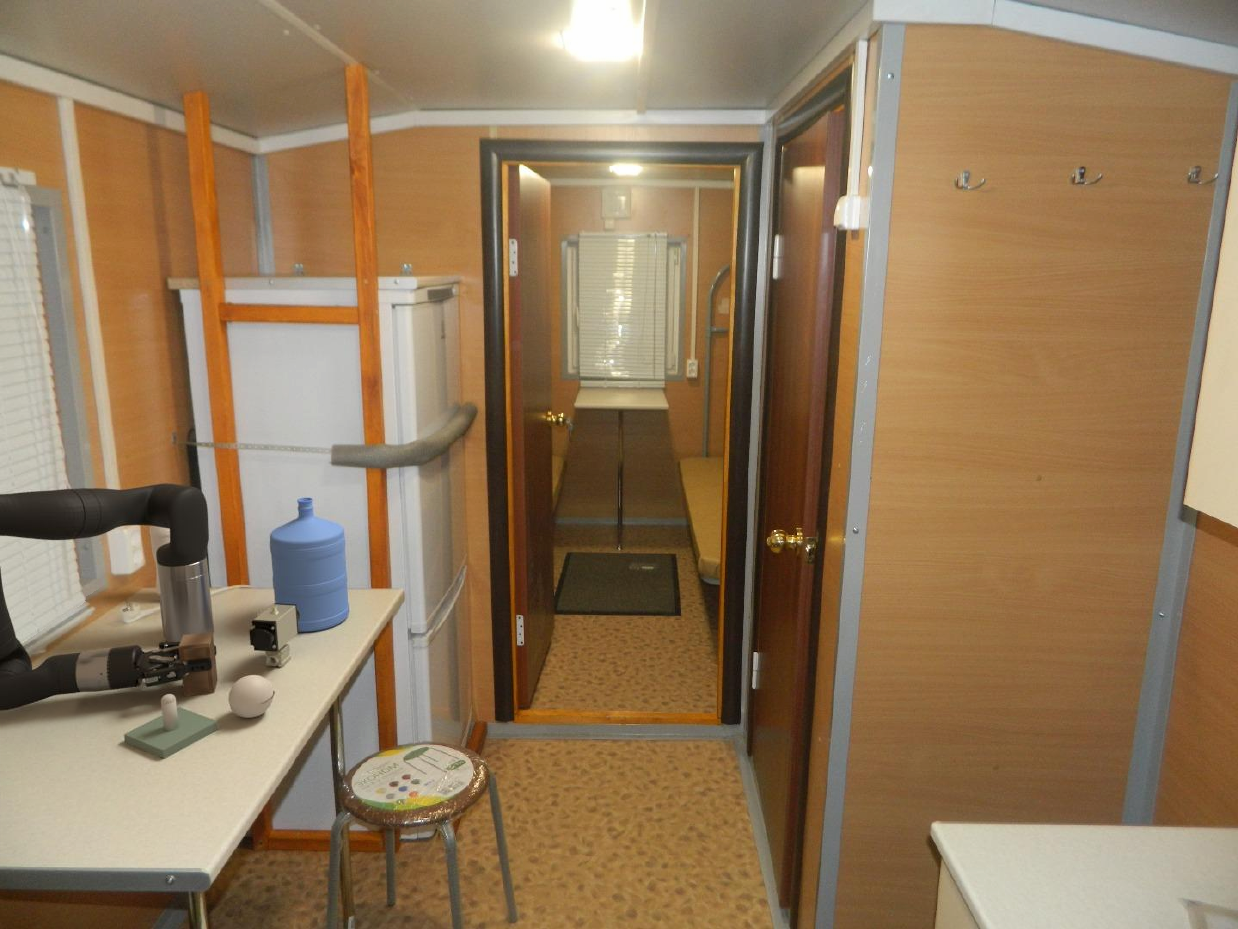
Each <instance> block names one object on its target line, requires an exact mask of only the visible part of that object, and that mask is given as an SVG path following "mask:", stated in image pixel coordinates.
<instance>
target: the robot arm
mask: <svg viewBox="0 0 1238 929" xmlns="http://www.w3.org/2000/svg"><path fill="white" fill-rule="evenodd" d="M126 526H127V527H128V526H149V527H150V526H156V527H162V528H168V529H170V543H167V544H164V545H162V546H161V547H159V548H158V549H157V552H156V557H157V565H158V574H159V582H160V591H161V593H160V594H159V595H158V598H159V599H158V600H159V608H160V617H161V618H160V619H161V624H162V634H163V636H164V637H165V640H166V641H161V642H160V643H158V648H157V649H153V650H152V649H151V650H149V651H143V650H142V647H141V646H140V645H138V644H133V645H124V646H113V647H106V648H97V649H92V650H87V651H82V652H81V651H80V652H72V653H63V654H57V655H51V656H49V657H48V658H46V659H45V660H43V661H42V662H41V664H40V665H38V666H37V667H35V668H34V669H33V663H32V660H31V657H30V654H29V653H28V651H27V650H26V648H25V646H24V645H23V644H22V642H21V641H20V640H19V639H18V638H17V636H16V632H15V628H14V625H13V622H12V618H11V615H10V612H9V609H8V605H7V602H6V597H5V592H4V587H3V581H2V572H1V570H2V568H1V567H0V712H1V711H3V712H5V711H9V710H14V709H18V708H21V707H24V706H27V705H30V704H33V703H37V702H40V701H43V700H46V699H48V698H50V697H53V696H60V695H62V696H63V695H68V694H76V693H77V694H78V693H87V692H88V693H98V692H105V691H113V690H123V689H130V688H138V687H140V686H141V684H142V683H143V680H144V682H145V687H146V688H149V687H155V686H160V685H165V684H170V683H174V682H178V681H182V679H183V676H184V675H188V674H189V672H190V673H191V672H200V671H208V670H211V669H212V659H211V658H203V659H195V660H189V663H188V661H187V660H181V661H180V655H179V644H180V642H181V640H182V637H183V635H189V634H198V633H208V632H213V634H214V632H215V626H214V616H213V607H212V596H211V584H210V576H209V568H208V565H209V564H208V559H207V558H208V556H207V548H208V546H209V545H208V544H209V542H210V540H209V539H210V533H209V532H210V531H209V530H210V529H209V509H208V504H207V499H206V497H205V495H204V493H203V491H202V490H201V489H199V488H198V487H194V486H190V485H183V484H177V483H167V482H166V483H165V482H164V483H158V484H157V483H156V484H152V485H151V484H150V485H145V486H140V487H134V488H125V489H115V488H114V489H113V488H102V487H101V488H100V487H99V488H97V487H95V488H91V487H90V488H86V487H84V488H83V487H82V488H80V487H79V488H64V489H62V488H61V489H53V490H37V491H36V490H35V491H23V492H14V493H1V494H0V536H1V537H12V538H22V539H31V540H32V539H33V540H43V541H68V540H79V539H88V538H94V537H98V536H103V534H104V535H105V534H106V533H109V532H111V531H114V530H115V529H116V528H120V527H126ZM214 649H215V657H216V656H217V652H218V651H217V646H216V645H215V644H214Z"/></svg>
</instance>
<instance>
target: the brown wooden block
mask: <svg viewBox="0 0 1238 929" xmlns="http://www.w3.org/2000/svg"><path fill="white" fill-rule="evenodd" d="M214 645H215V640H214V633H213V632H208V633H198V634H189V635H183V637H182V640H181V642H180V644H179V655H180V661H181V660H187V661H188V663H189V660H195V659H203V658H211V659H212V669H211V670H208V671H200V672H191V673H190V672H189V674H188V675H184V676H183V679H182V680H181V681H182V689H183V697H191V696H198V695H206V694H214V693H215V691H216V687H217V683H218V681H219V679H218V670H217V662H216V661H217V660H216V656H215V649H214Z"/></svg>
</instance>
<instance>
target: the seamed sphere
mask: <svg viewBox="0 0 1238 929" xmlns="http://www.w3.org/2000/svg"><path fill="white" fill-rule="evenodd" d="M270 680H271V677H270V678H269V680H268V679H267V678H266V677H264V676H262V675H258V674H251V675H246V676H243V677H241V678H239V679H238V680H237V681H236V682H234V683H233V685H232V686H231V689H230V690H229V693H228V699H227V700H228V704H229V707H230V710H232V712H233V713H234V714H235V715H236V716H239V717H242V718H247V719H249V718H250V719H251V718H255V717H258V716H261V715H263V714H264V713H266V711H267V710H269V708H270V707H271V705H272V703H273V701H274V696H275V691H274V689H273V686H272V684H271V683H270Z"/></svg>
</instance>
